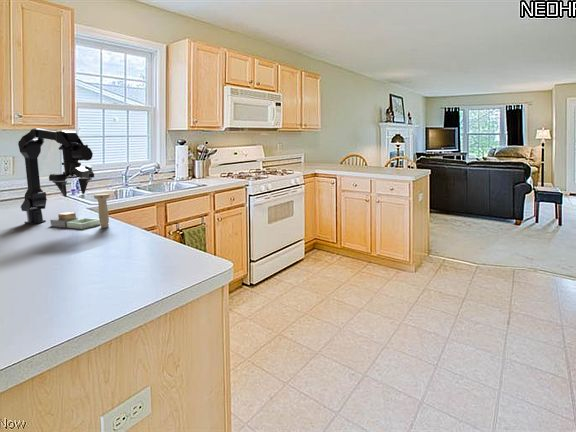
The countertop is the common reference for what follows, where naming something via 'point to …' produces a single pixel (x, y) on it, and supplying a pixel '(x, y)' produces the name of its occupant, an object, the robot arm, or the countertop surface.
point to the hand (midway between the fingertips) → (74, 195)
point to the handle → (103, 209)
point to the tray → (83, 223)
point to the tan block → (67, 216)
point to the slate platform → (60, 222)
